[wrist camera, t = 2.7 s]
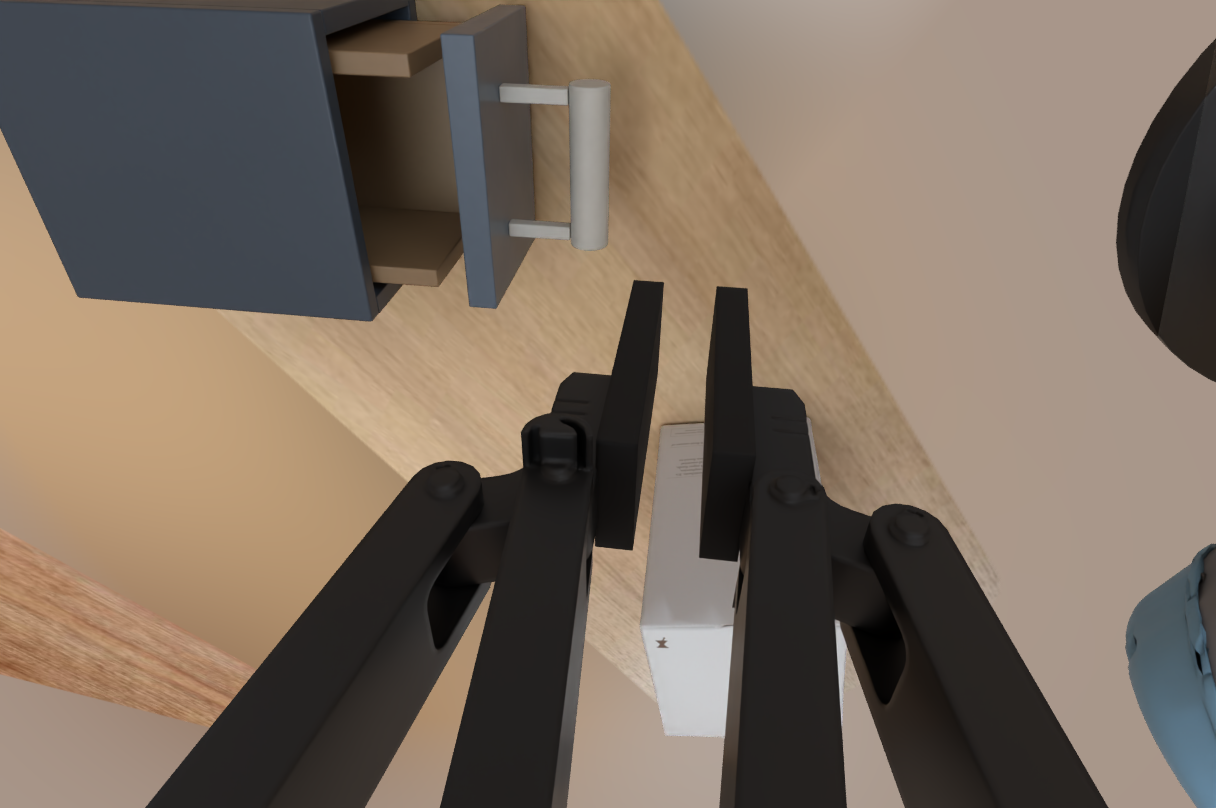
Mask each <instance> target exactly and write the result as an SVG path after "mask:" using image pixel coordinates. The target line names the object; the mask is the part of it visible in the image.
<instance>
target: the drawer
mask: <svg viewBox="0 0 1216 808" xmlns="http://www.w3.org/2000/svg"><path fill="white" fill-rule="evenodd" d="M326 41H327V46H328V52H329V57H330V62H331V67H332V72H333V78H334V83H335V88H336V93H337V99H338V104H339V109H340V114H341V119H342V125H343V130H344V135H345V140H346V145H347V151H348V156H349V161H350V166H351V171H352V177H353V182H354V187H355V192H356V198H357V203H358V208H359V213H360V218H361V224H362V229H363V234H364V239H365V244H366V250H367V255H368V260H369V265H370V270H371V276H372V281H373V282H379V283H392V284H405V285H418V286H431V287H439V285H440V284H441V283H442V281H443V280H444V279H445V277H446V276H447V274H448V273H449V272H450V270H451V269H452V268H453V266H454V265H455V263H456V262H457V261H458V259H459V258H460V257H461V255H462V254H463V252H464V260H465V269H466V279H467V288H468V297H469V306H470V307H481V308H493V309H496V308H497V307H498V305H499V303H500V301H501V299H502V298H503V296H504V294H505V292H506V290H507V288H508V287H509V285H510V283H511V281H512V279H513V278H514V276H515V274H516V272H517V270H518V268H519V267H520V265H521V263H522V261H523V259H524V258H525V256H526V254H527V252H528V250H529V248H530V247H531V245H532V243H533V241H534V239H535V238H545V239H559V240H570V238H571V244H572V246H573V247H575V248H577V249H580V250H586V251H594V250H600V249H603V248H605V247H606V246H607V244H608V218H609V158H610V99H611V85H610V83H609V82H607V81H604V80H599V79H579V80H574V81H571V82H570V83H569V86H554V85H532V84H529V73H528V51H527V29H526V7H525V6H524V5H497V6H495V7H493V8H491V9H489V10H487V11H485V12H483V13H481V14H479V15H477V16H475V17H473V18H471V19H469V20H467V21H465V22H463V23H458V22H433V21H407V20H381V19H370V20H367V21H364V22H362V23H359V24H356V25H353V26H351V27H348V28H345V29H342V30H340V31H337V32H334V33H331V34H328V35H326ZM530 104H546V105H566V106H567V105H568V104H569V133H570V200H571V223H565V222H550V221H535V206H534V184H533V162H532V140H531V117H530Z"/></svg>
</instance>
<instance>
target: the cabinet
mask: <svg viewBox="0 0 1216 808" xmlns="http://www.w3.org/2000/svg"><path fill="white" fill-rule="evenodd" d="M370 19H381V20H407V21H417V16H416V7H415V0H0V129H1V131H2V133H3V135H4V137H5V140H6V142H7V144H8V146H9V148H10V150H11V153H12V155H13V157H14V159H15V161H16V164H17V166H18V168H19V170H20V172H21V174H22V177H23V179H24V181H25V183H26V185H27V187H28V190H29V192H30V194H31V196H32V198H33V201H34V203H35V205H36V207H37V209H38V211H39V213H40V215H41V218H42V220H43V222H44V224H45V227H46V229H47V231H48V233H49V235H50V237H51V240H52V242H53V244H54V246H55V248H56V250H57V252H58V255H59V257H60V259H61V261H62V264H63V266H64V268H65V270H66V272H67V274H68V277H69V279H70V281H71V283H72V285H73V287H74V289H75V292H76V294H77V296H78V297H80V298H91V299H103V300H115V301H127V302H140V303H152V304H164V305H176V306H189V307H200V308H213V309H225V310H237V311H249V312H261V313H273V314H286V315H298V316H310V317H322V318H334V319H346V320H359V321H373V320H374V318H375V317H376V316H377V315H378V313H380V312H381V311H382V309H383V308H384V307H385V306H386V305H387V303H388V302H389V301H390V300H391V298H392V297H393V296H394V295H395V294H396V292H397V291H398V290H399V289H400V288H401V286H402V285H403V284H392V283H379V282H373V281H372V276H371V270H370V265H369V260H368V255H367V250H366V244H365V239H364V234H363V229H362V224H361V218H360V213H359V208H358V203H357V198H356V192H355V187H354V182H353V177H352V171H351V166H350V161H349V156H348V151H347V145H346V140H345V135H344V130H343V125H342V119H341V114H340V109H339V104H338V99H337V93H336V88H335V83H334V78H333V72H332V67H331V62H330V57H329V52H328V46H327V41H326V35H328V34H331V33H334V32H337V31H340V30H342V29H345V28H348V27H351V26H353V25H356V24H359V23H362V22H364V21H367V20H370Z"/></svg>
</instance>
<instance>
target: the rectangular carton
mask: <svg viewBox="0 0 1216 808" xmlns="http://www.w3.org/2000/svg"><path fill="white" fill-rule="evenodd" d="M807 424H808V431H809V433H808V435H809V437H810V444H811V450H812V457H813V463H814V470H815V477H816V479H817V480H818V482H819V483H820V484H821V478H820V472H819V466H818V460H817V455H816V449H815V444H814V438H813V432H812V425H811V420H810V418H808V417H807ZM703 447H704V423H695V424H678V425H664V426H662V427H661V430H660V440H659V450H658V459H657V469H656V479H655V488H654V498H653V508H652V517H651V527H650V537H649V546H648V556H647V566H646V575H645V584H644V594H643V603H642V612H641V620H640V630H641V635H642V639H643V643H644V648H645V652H646V656H647V660H648V664H649V668H650V672H651V676H652V681H653V685H654V689H655V693H656V698H657V702H658V706H659V710H660V714H661V719H662V723H663V727H664V732H665V735H666V736H706V737H725V727H726V714H727V701H728V688H729V675H730V662H731V649H732V636H733V623H734V610H735V608H732V605H733V599H734V594H735V588H736V582H737V577H738V571H739V566H740V551H739V556H738V562H731V561H722V560H713V559H704V558H699V544H700V520H701V496H702V472H703ZM821 485H822V484H821ZM835 628H836V644H837V660H838V676H839V692H840V708H841V724H842V717H843V716H842V713H843V693H844V676H845V664H846V650H847V645H846V642H845V639H844V636H843V634H842V631H841V628H840V621H838V620H835Z"/></svg>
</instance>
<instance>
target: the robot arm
mask: <svg viewBox="0 0 1216 808" xmlns="http://www.w3.org/2000/svg"><path fill="white" fill-rule="evenodd" d="M663 287H664V282H651V281H638V280H634V282H633V286H632V290H631V295H630V299H629V303H628V307H627V311H626V316H625V320H624V324H623V328H622V332H621V337H620V341H619V345H618V349H617V354H616V358H615V362H614V366H613V370H612V375H600V374H589V373H577V372H573V373H572V374H571V375H570V376H569V377H567V378H566V379H565V380H564V381H563V382H562V383H561V384H560V386H559V389H558V392H557V395H556V398H555V401H554V404H553V407H552V411H551V413H549V414H545V415H542V416H538V417H535V418H534V419H532V420H531V421H529V422H528V423H527V424H526V425H525V426H524V428H523V430H522V431H521V440H522V454H523V468H522V469H520V470H518V471H515V472H513V473H510V474H506V475H501V476H494V477H486V478H481V477H480V473H479V472H478V471H477V470H476V469H475V468H474V467H473V466H471V465H469V464H466V463H464V462H459V461H444V462H438V463H434V464H431V465H429V466H427V467H425V468H422V469H421V470H420V471H419V472H418V473H417V474H415V475H414V476H413V477H412V479H411V480H410V481H409V482H408V484H407V485H406V486H405V487H404V488H403V490H402V491H401V492H400V493H399V495H398V496H397V497H396V498H395V500H394V501H393V502H392V504H391V505H390V506H389V507H388V508H387V510H386V511H385V512H384V513H383V514H382V516H381V517H380V518H379V519H378V521H377V522H376V523H375V524H374V526H373V527H372V528H371V529H370V531H369V532H368V533H367V534H366V535H365V537H364V538H363V539H362V540H361V542H360V543H359V544H358V545H357V547H356V548H355V549H354V550H353V552H352V553H351V554H350V555H349V557H348V558H347V559H346V560H345V562H344V563H343V564H342V565H341V566H340V568H339V569H338V570H337V571H336V573H335V574H334V575H333V576H332V577H331V579H330V580H329V581H328V583H327V584H326V585H325V586H324V587H323V589H322V590H321V591H320V592H319V594H318V595H317V596H316V597H315V599H314V600H313V601H312V602H311V603H310V605H309V606H308V607H307V609H306V610H305V611H304V612H303V613H302V615H301V616H300V617H299V618H298V620H297V621H296V622H295V623H294V624H293V626H292V627H291V628H290V630H289V631H288V632H287V633H286V634H285V636H284V637H283V638H282V640H281V641H280V642H279V643H278V644H277V646H276V647H275V648H274V649H273V650H272V652H271V653H270V654H269V655H268V657H267V658H266V659H265V660H264V662H263V663H262V664H261V665H260V667H259V668H258V669H257V670H256V671H255V673H254V674H253V675H252V676H251V678H250V679H249V680H248V681H247V683H246V684H245V685H244V686H243V688H242V689H241V690H240V691H239V692H238V694H237V695H236V696H235V697H234V699H233V700H232V701H231V702H230V704H229V705H228V706H227V707H226V709H225V710H224V711H223V712H222V714H221V715H220V716H219V717H218V718H217V720H216V721H215V722H214V723H213V725H212V726H211V727H210V728H209V730H208V731H207V732H206V733H205V735H204V736H203V737H202V738H201V739H200V741H199V742H198V743H197V744H196V746H195V747H194V748H193V749H192V751H191V752H190V753H189V754H188V756H187V757H186V758H185V759H184V761H183V762H182V763H181V764H180V766H179V767H178V768H177V769H176V770H175V772H174V773H173V774H172V775H171V777H170V778H169V779H168V780H167V782H166V783H165V784H164V785H163V786H162V788H161V789H160V790H159V791H158V793H157V794H156V795H155V796H154V798H153V799H152V800H151V801H150V803H149V804H148V805H147V806H146V807H145V808H365V806H366V805H367V802H368V801H369V799H370V797H371V795H372V794H373V792H374V790H375V789H376V787H377V785H378V783H379V782H380V780H381V778H382V776H383V775H384V773H385V771H386V769H387V768H388V766H389V764H390V762H391V761H392V759H393V757H394V755H395V754H396V752H397V750H398V748H399V747H400V745H401V743H402V741H403V739H404V738H405V736H406V734H407V732H408V731H409V729H410V727H411V725H412V724H413V722H414V720H415V718H416V716H417V715H418V713H419V711H420V710H421V708H422V706H423V704H424V702H425V701H426V699H427V697H428V695H429V693H430V692H431V690H432V688H433V687H434V685H435V683H436V681H437V679H438V678H439V676H440V674H441V672H442V671H443V669H444V667H445V666H446V664H447V662H448V660H449V659H450V657H451V655H452V653H453V652H454V650H455V648H456V646H457V645H458V643H459V641H460V639H461V637H462V636H463V634H464V632H465V630H466V629H467V627H468V625H469V623H470V622H471V620H472V618H473V616H474V615H475V613H476V611H477V609H478V608H479V606H480V604H481V602H482V600H483V599H484V597H485V595H486V594H487V592H488V590H489V588H490V585H491V582H495V585H494V589H493V593H492V597H491V601H490V605H489V609H488V613H487V617H486V621H485V626H484V630H483V634H482V638H481V642H480V646H479V650H478V654H477V658H476V662H475V666H474V671H473V675H472V679H471V683H470V687H469V691H468V695H467V699H466V704H465V707H464V712H463V716H462V720H461V724H460V728H459V732H458V736H457V740H456V744H455V748H454V752H453V756H452V760H451V765H450V769H449V773H448V777H447V781H446V785H445V789H444V793H443V797H442V802H441V805H440V808H566V807H567V799H568V789H569V779H570V771H571V761H572V752H573V743H574V733H575V724H576V714H577V705H578V696H579V685H580V677H581V668H582V658H583V649H584V640H585V630H586V621H587V612H588V602H589V593H590V583H591V574H592V548H593V543H594V539H595V546H596V547H605V548H614V549H623V550H632V551H633V544H634V536H635V529H636V522H637V515H638V508H639V501H640V494H641V487H642V480H643V473H644V466H645V459H646V452H647V445H648V438H649V431H650V424H651V417H652V410H653V403H654V396H655V389H656V382H657V375H658V362H659V347H660V332H661V317H662V302H663ZM808 433H809V431H808V424H807V417H806V411H805V404H804V403H803V402H802V400H801V399H800V398H799V397H798V395H797V394H796V393H795V392H794V391H793V390H791V389H779V388H768V387H756V386H753V385H752V366H751V347H750V328H749V309H748V291H747V289H746V288H733V287H719V286H717V289H716V298H715V306H714V315H713V324H712V333H711V341H710V350H709V359H708V368H707V376H706V399H705V423H704V447H703V472H702V496H701V520H700V544H699V558H704V559H713V560H722V561H731V562H738V556H739V551H740V566H739V571H738V577H737V582H736V588H735V594H734V599H733V605H732V608H735V610H734V623H733V636H732V649H731V662H730V675H729V688H728V701H727V714H726V727H725V740H724V755H723V767H722V780H721V793H720V807H719V808H847V804H846V790H845V773H844V756H843V740H842V724H841V708H840V692H839V676H838V660H837V644H836V628H835V620H838V621H840V628H841V631H842V634H843V636H844V639H845V642H846V645H847V648H848V650H849V653H850V656H851V659H852V661H853V664H854V667H855V670H856V673H857V675H858V678H859V681H860V684H861V687H862V689H863V692H864V695H865V698H866V701H867V703H868V706H869V709H870V711H871V714H872V717H873V720H874V723H875V726H876V728H877V731H878V734H879V737H880V740H881V742H882V745H883V748H884V751H885V753H886V756H887V759H888V762H889V765H890V767H891V770H892V773H893V776H894V779H895V781H896V784H897V787H898V790H899V793H900V795H901V798H902V801H903V804H904V806H905V808H1108V806H1107V805H1106V803H1105V801H1104V799H1103V798H1102V796H1101V794H1100V793H1099V791H1098V789H1097V787H1096V786H1095V784H1094V782H1093V780H1092V779H1091V777H1090V775H1089V774H1088V772H1087V770H1086V768H1085V767H1084V765H1083V763H1082V761H1081V760H1080V758H1079V756H1078V755H1077V753H1076V751H1075V749H1074V748H1073V746H1072V744H1071V743H1070V741H1069V739H1068V737H1067V736H1066V734H1065V732H1064V731H1063V729H1062V727H1061V725H1060V724H1059V722H1058V720H1057V719H1056V717H1055V715H1054V713H1053V712H1052V710H1051V708H1050V706H1049V705H1048V703H1047V701H1046V699H1045V698H1044V696H1043V694H1042V692H1041V691H1040V689H1039V687H1038V686H1037V684H1036V682H1035V681H1034V679H1033V677H1032V675H1031V674H1030V672H1029V670H1028V668H1027V667H1026V665H1025V663H1024V661H1023V660H1022V658H1021V657H1020V655H1019V653H1018V651H1017V649H1016V648H1015V646H1014V645H1013V643H1012V641H1011V639H1010V637H1009V636H1008V634H1007V632H1006V630H1005V629H1004V627H1003V625H1002V624H1001V622H1000V620H999V618H998V617H997V615H996V613H995V611H994V610H993V608H992V606H991V605H990V603H989V601H988V599H987V598H986V596H985V594H984V592H983V591H982V589H981V587H980V586H979V584H978V582H977V580H976V579H975V577H974V575H973V573H972V572H971V570H970V568H969V567H968V565H967V563H966V561H965V560H964V558H963V556H962V554H961V553H960V551H959V549H958V548H957V546H956V544H955V542H954V541H953V539H952V537H951V536H950V534H949V532H948V530H947V529H946V528H945V527H944V525H943V524H942V523H941V522H940V521H939V520H938V519H937V518H935V517H934V516H932V515H931V514H929V513H928V512H926V511H924V510H922V509H919V508H916V507H913V506H911V505H902V504H891V505H885V506H882V507H880V508H879V509H877V510H876V511H874V512H873V514H872V517H871V516H868V515H865V514H862V513H859V512H856V511H853V510H850V509H848V508H845V507H843V506H841V505H839V504H837V503H836V502H834V501H832V500H831V499H830V498H829V497H828V496H827V495H826V492H825V489H824V487H823V486H822V485H821V484H820V483H819V482H818V480H817V479H816V477H815V470H814V463H813V457H812V450H811V444H810V437H809V435H808ZM1125 648H1126V653H1127V656H1128V660H1129V667H1128V668H1129V675H1130V680H1131V683H1132V686H1133V690H1134V692H1135V695H1136V698H1137V701H1138V704H1139V706H1140V709H1141V711H1142V714H1143V716H1144V719H1145V721H1146V723H1147V725H1148V727H1149V729H1150V731H1151V733H1152V736H1153V738H1154V740H1155V741H1156V743H1157V745H1158V747H1159V749H1160V750H1161V752H1162V754H1163V756H1164V758H1165V759H1166V761H1167V763H1168V764H1169V766H1170V768H1171V769H1172V771H1173V772H1174V774H1175V775H1176V777H1177V779H1178V781H1179V782H1180V784H1181V785H1182V787H1183V788H1184V790H1185V791H1186V793H1187V794H1188V795H1189V797H1190V798H1191V800H1192V801H1193V803H1194V804H1195V805H1196V807H1197V808H1216V544H1210V545H1208V546H1207V547H1205V548H1204V549H1202V550H1201V551H1199V552H1198V553H1197V555H1196V556H1195V557H1194V559H1193V561H1192V563H1191V564H1190V565H1188V566H1187V567H1186V568H1184V569H1183V570H1181V571H1180V572H1179V573H1177V574H1176V575H1175V576H1173V577H1172V578H1170V579H1169V580H1167V581H1166V582H1165V583H1163V584H1162V585H1161V586H1159V587H1158V588H1156V589H1155V590H1153V591H1152V592H1151V593H1149V594H1148V595H1147V596H1145V597H1144V599H1142V600H1141V601H1140V602H1139V604H1138V605H1137V606H1136V607H1135V609H1134V611H1133V613H1132V615H1131V617H1130V619H1129V622H1128V625H1127V631H1126V647H1125Z"/></svg>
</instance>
